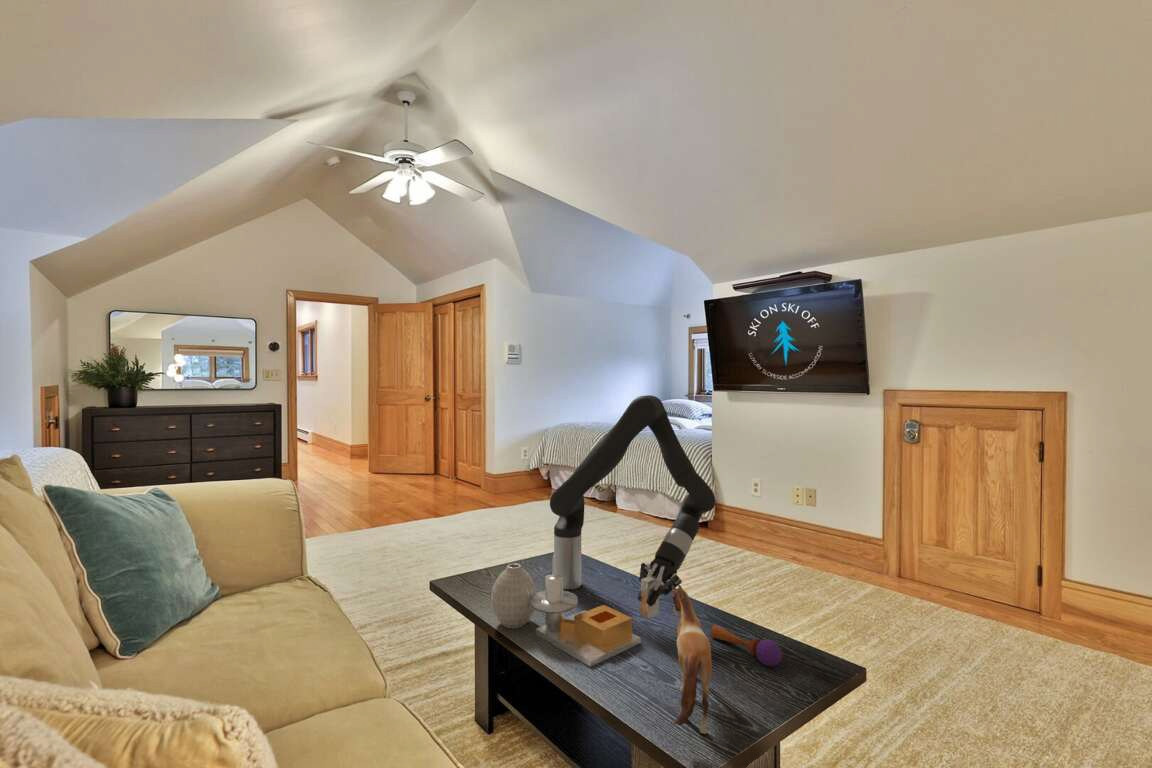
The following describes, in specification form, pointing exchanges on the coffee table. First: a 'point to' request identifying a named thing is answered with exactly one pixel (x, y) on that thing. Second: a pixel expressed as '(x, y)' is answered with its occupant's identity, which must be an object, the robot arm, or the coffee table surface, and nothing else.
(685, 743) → the coffee table surface
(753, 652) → the kendama
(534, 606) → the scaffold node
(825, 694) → the coffee table surface
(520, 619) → the vase
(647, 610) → the grey rectangular peg
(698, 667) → the horse figurine
